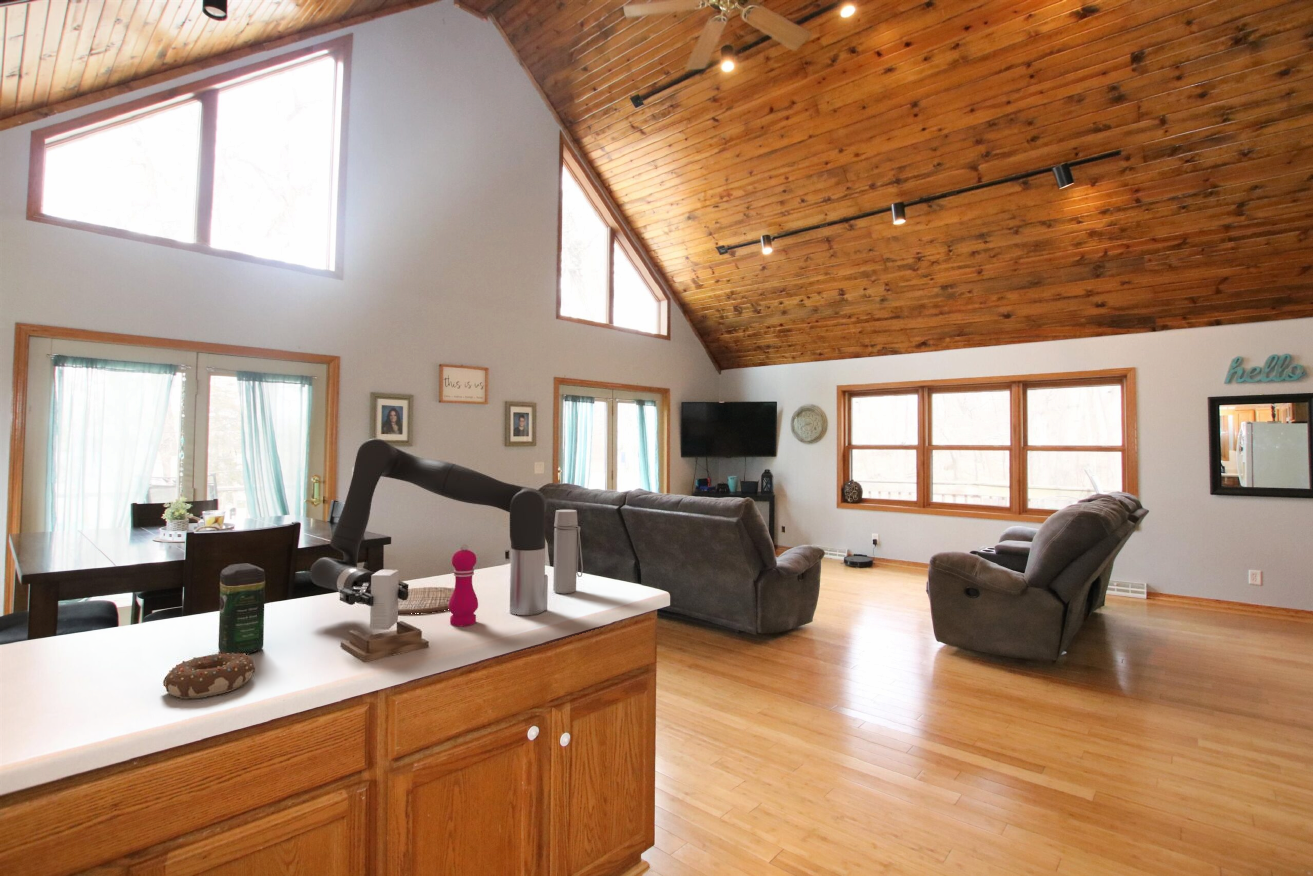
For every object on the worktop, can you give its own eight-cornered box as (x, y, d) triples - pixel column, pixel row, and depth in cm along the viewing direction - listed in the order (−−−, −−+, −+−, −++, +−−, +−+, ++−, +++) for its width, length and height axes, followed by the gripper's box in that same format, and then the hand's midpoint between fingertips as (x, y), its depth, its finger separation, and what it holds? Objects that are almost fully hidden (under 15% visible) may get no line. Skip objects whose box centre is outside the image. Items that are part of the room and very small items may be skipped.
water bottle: (549, 594, 192) (550, 511, 192) (557, 588, 199) (558, 509, 199) (578, 595, 190) (579, 512, 190) (585, 589, 198) (586, 509, 198)
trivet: (379, 596, 188) (379, 589, 188) (467, 591, 195) (467, 585, 195) (368, 619, 164) (368, 611, 164) (468, 612, 171) (468, 605, 171)
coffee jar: (267, 651, 136) (269, 565, 136) (224, 660, 131) (226, 570, 131) (256, 641, 143) (258, 559, 143) (214, 648, 138) (216, 563, 138)
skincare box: (378, 621, 144) (380, 569, 144) (398, 621, 144) (399, 569, 144) (368, 629, 138) (370, 575, 138) (389, 630, 138) (390, 575, 138)
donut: (262, 688, 117) (263, 661, 117) (170, 709, 107) (171, 680, 107) (244, 668, 127) (244, 643, 127) (158, 686, 117) (158, 659, 117)
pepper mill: (469, 628, 156) (470, 546, 156) (442, 625, 157) (443, 545, 157) (482, 620, 163) (484, 542, 163) (457, 618, 164) (458, 541, 165)
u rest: (402, 634, 150) (402, 618, 150) (428, 646, 141) (428, 630, 141) (340, 647, 140) (341, 630, 140) (364, 661, 131) (364, 644, 131)
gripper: (327, 573, 145) (356, 586, 134) (389, 565, 156) (421, 577, 144) (326, 605, 145) (355, 621, 134) (388, 595, 156) (420, 609, 144)
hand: (389, 598), depth 139 cm, fingers closed on skincare box, 7 cm apart
